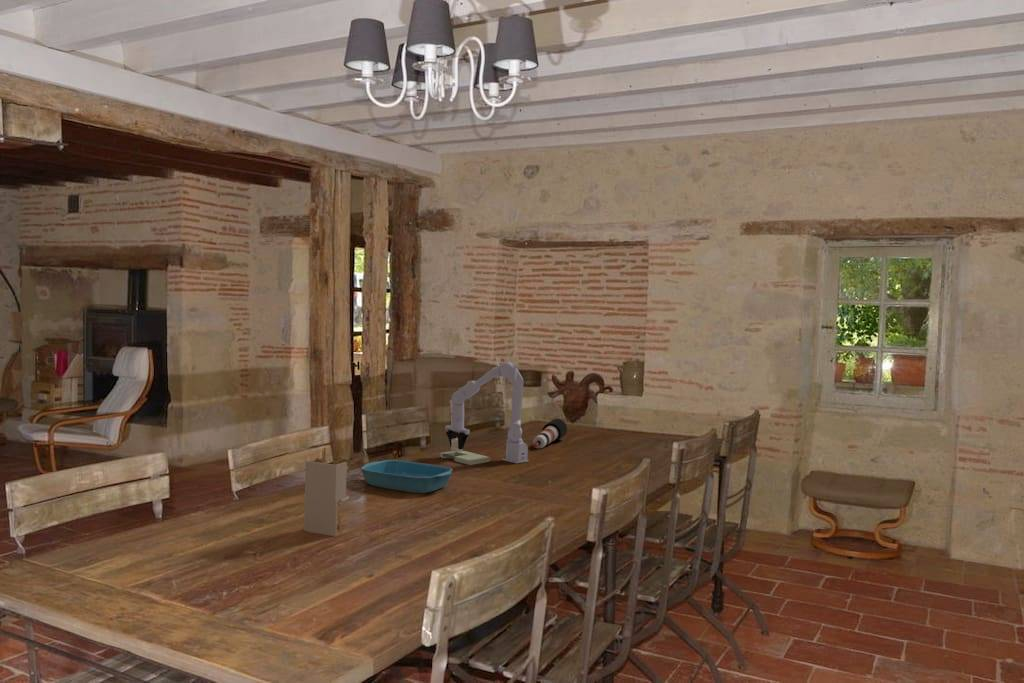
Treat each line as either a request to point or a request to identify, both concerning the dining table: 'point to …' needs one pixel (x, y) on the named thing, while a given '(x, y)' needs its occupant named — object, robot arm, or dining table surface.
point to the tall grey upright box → (324, 495)
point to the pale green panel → (465, 457)
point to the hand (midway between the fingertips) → (456, 448)
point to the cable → (550, 433)
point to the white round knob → (455, 445)
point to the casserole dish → (406, 475)
